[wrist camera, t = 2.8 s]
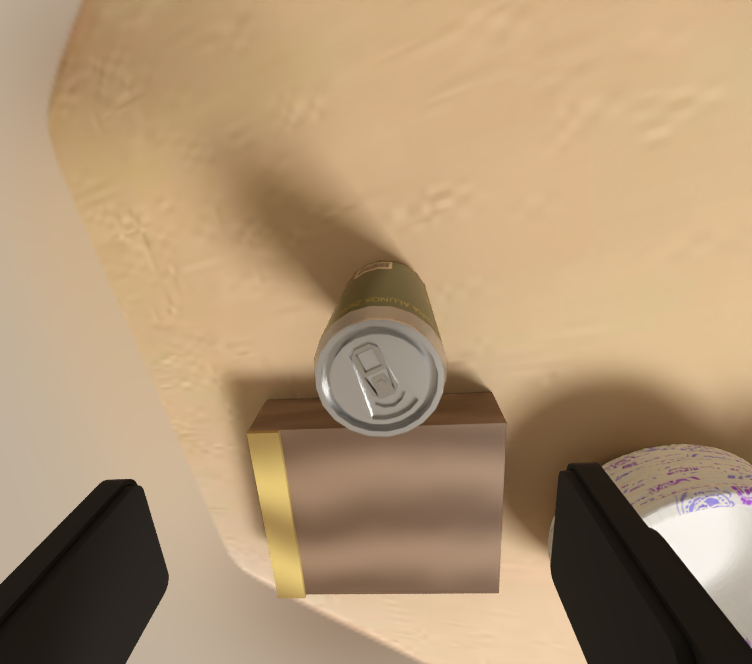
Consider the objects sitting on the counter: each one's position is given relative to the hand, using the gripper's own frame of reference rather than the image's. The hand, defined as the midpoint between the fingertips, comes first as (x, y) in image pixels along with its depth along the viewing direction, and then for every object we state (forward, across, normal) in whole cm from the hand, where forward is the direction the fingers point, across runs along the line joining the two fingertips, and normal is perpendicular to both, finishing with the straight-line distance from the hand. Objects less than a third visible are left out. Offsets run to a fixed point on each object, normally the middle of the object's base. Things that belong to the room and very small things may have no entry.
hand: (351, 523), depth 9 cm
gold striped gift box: (+19, 0, +14) cm, 23 cm away
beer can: (+19, -1, 0) cm, 19 cm away
